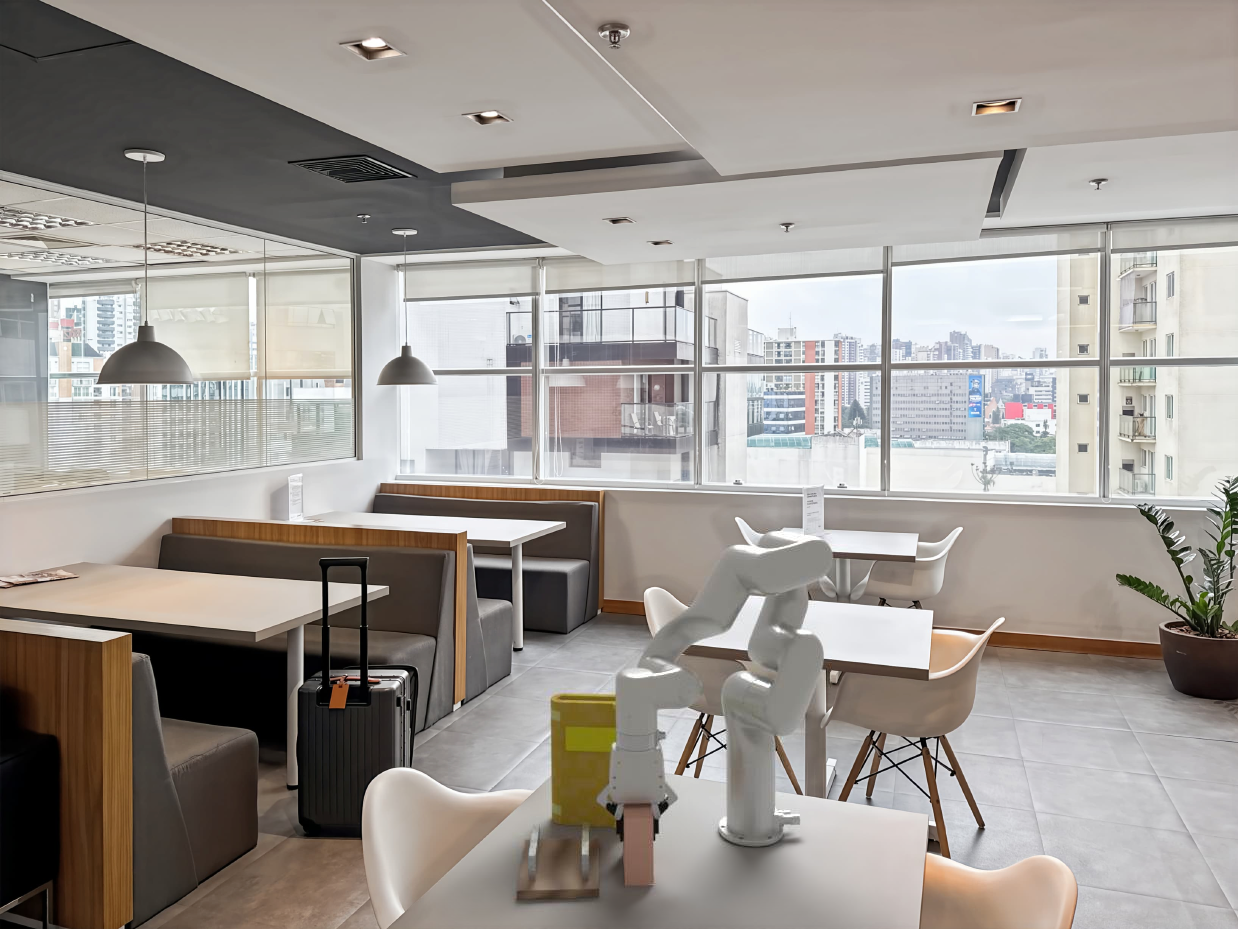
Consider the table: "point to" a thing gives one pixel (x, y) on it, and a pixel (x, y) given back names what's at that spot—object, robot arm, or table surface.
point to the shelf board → (560, 870)
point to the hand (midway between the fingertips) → (637, 836)
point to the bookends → (535, 850)
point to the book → (581, 756)
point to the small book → (638, 844)
